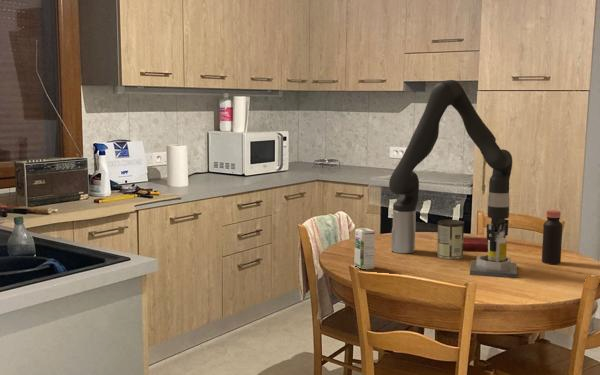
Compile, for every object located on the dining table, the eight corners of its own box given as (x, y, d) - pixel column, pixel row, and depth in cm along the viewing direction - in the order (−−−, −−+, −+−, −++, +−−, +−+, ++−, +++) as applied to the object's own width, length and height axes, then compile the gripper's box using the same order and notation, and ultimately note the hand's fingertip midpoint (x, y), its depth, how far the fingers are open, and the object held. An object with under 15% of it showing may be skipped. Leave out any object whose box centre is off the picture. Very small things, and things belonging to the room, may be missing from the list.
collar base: (469, 274, 229) (470, 262, 229) (471, 263, 244) (472, 252, 244) (516, 278, 225) (517, 265, 224) (515, 266, 240) (516, 255, 239)
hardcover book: (492, 253, 263) (493, 243, 263) (440, 251, 267) (441, 241, 266) (489, 246, 275) (489, 237, 275) (439, 245, 279) (439, 235, 278)
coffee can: (445, 251, 264) (446, 218, 262) (467, 256, 257) (468, 221, 255) (431, 256, 256) (432, 221, 255) (454, 260, 249) (455, 225, 248)
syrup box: (353, 266, 240) (354, 228, 238) (367, 265, 243) (368, 227, 241) (361, 270, 235) (361, 231, 233) (375, 268, 237) (375, 230, 235)
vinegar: (546, 259, 251) (548, 209, 248) (563, 262, 246) (566, 211, 244) (538, 262, 246) (541, 211, 244) (555, 265, 241) (558, 213, 239)
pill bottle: (508, 261, 236) (509, 230, 234) (502, 265, 230) (503, 233, 229) (491, 259, 239) (491, 229, 238) (485, 263, 234) (485, 231, 233)
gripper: (500, 208, 225) (498, 254, 227) (516, 203, 235) (514, 247, 237) (480, 206, 229) (478, 251, 231) (496, 201, 240) (495, 245, 242)
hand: (497, 249), depth 234 cm, fingers closed on pill bottle, 6 cm apart
